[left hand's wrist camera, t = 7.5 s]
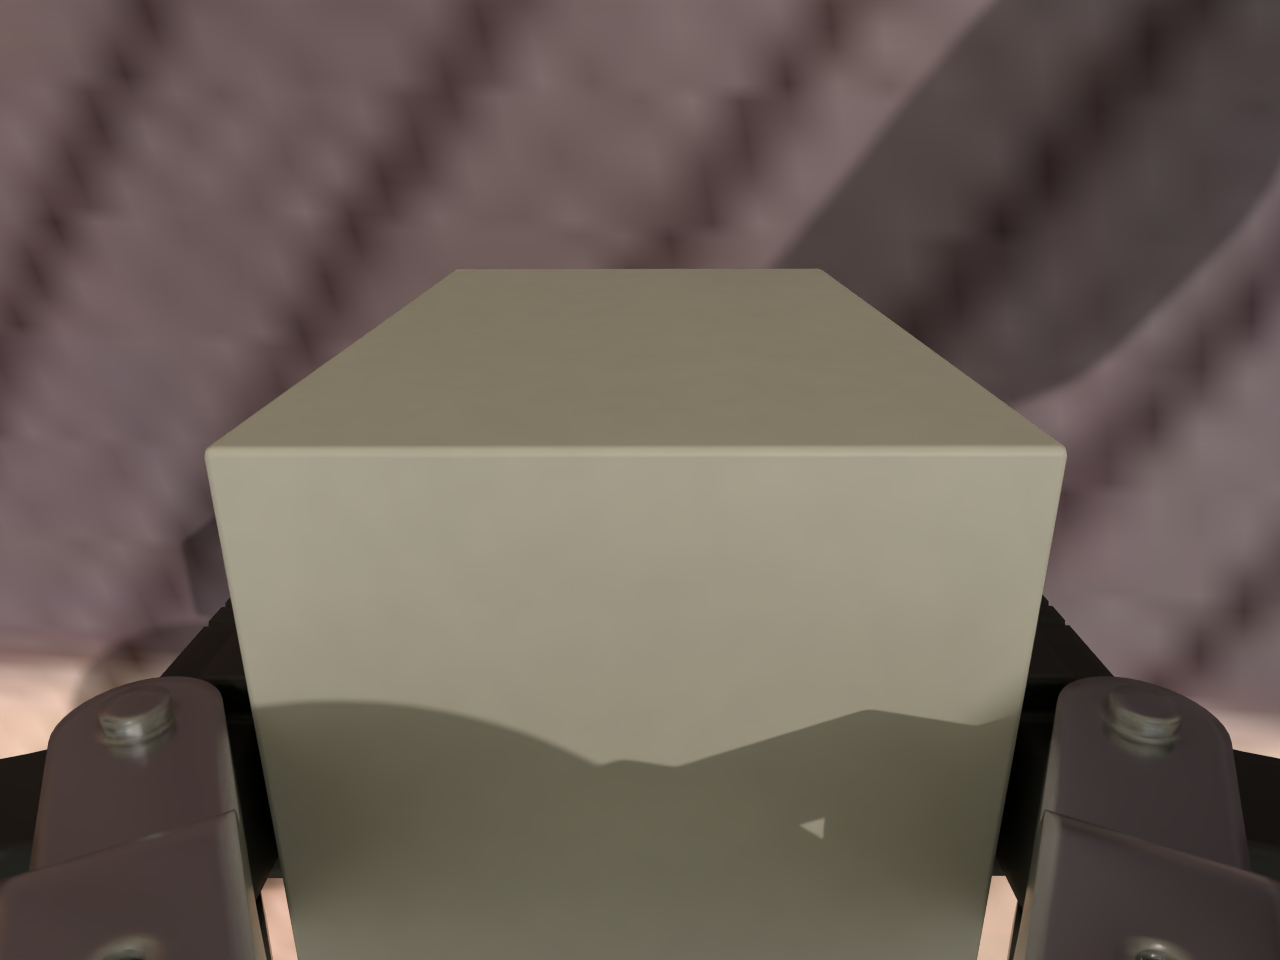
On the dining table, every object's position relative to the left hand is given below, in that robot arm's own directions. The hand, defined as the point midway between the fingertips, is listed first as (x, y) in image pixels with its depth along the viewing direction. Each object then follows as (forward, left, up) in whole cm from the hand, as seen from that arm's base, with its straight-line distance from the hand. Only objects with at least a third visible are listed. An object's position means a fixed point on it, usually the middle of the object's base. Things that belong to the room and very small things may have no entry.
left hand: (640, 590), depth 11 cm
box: (+10, +3, -5) cm, 11 cm away
